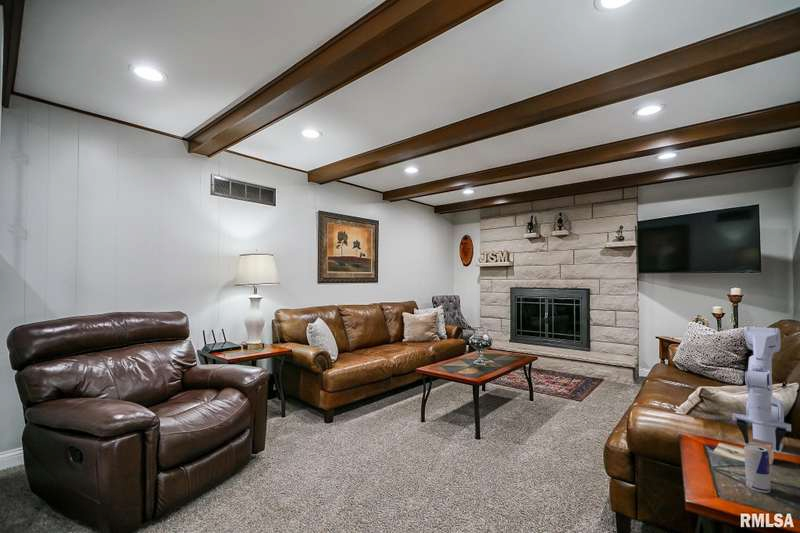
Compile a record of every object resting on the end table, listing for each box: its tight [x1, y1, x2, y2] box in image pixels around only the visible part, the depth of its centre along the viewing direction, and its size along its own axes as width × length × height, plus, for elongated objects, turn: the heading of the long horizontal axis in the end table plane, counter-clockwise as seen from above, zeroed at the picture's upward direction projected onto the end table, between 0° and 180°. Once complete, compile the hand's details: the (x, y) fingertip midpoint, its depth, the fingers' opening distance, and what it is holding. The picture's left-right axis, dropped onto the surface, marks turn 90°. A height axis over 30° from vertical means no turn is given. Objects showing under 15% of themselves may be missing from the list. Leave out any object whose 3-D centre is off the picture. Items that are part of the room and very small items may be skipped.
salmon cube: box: [750, 438, 774, 465], centre depth 130 cm, size 5×5×6 cm
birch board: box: [711, 442, 745, 463], centre depth 136 cm, size 13×9×1 cm
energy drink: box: [743, 443, 772, 494], centre depth 113 cm, size 5×5×12 cm
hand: (761, 446), depth 130 cm, fingers open, 7 cm apart
